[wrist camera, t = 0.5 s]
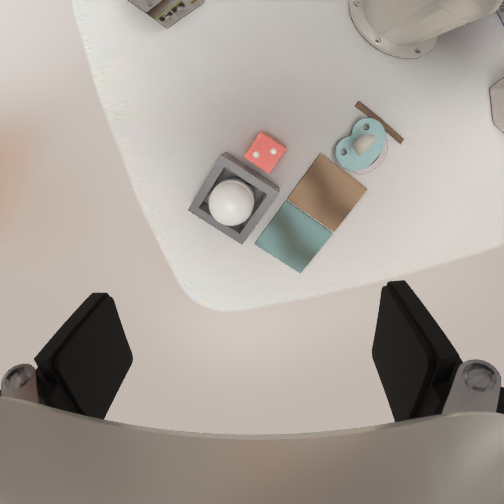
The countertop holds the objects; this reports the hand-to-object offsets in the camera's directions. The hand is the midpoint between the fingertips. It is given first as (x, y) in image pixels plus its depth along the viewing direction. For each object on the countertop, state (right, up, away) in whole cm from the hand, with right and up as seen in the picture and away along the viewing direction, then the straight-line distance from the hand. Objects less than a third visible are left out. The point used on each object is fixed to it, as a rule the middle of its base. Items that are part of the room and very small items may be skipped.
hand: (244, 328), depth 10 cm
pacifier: (+14, +16, +26) cm, 33 cm away
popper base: (-1, +12, +28) cm, 31 cm away
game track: (+10, +10, +28) cm, 31 cm away
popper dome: (-2, +9, +28) cm, 30 cm away
